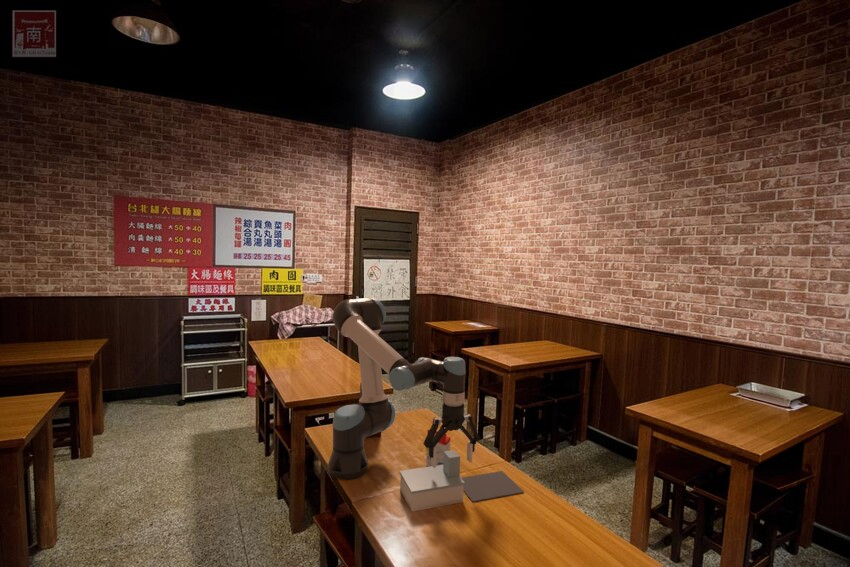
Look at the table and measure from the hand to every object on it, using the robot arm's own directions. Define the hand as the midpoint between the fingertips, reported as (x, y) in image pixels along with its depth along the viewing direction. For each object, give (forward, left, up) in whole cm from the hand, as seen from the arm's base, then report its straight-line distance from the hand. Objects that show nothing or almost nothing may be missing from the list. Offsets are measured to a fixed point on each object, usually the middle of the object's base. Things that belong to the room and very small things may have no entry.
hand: (451, 463), depth 144 cm
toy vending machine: (-16, +57, -11) cm, 60 cm away
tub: (-7, 0, -10) cm, 13 cm away
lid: (-7, 0, -6) cm, 9 cm away
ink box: (+3, +19, -11) cm, 22 cm away
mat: (+15, 0, -10) cm, 18 cm away
